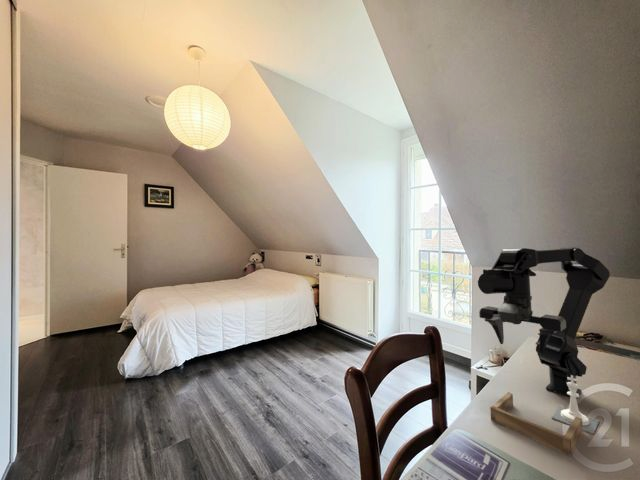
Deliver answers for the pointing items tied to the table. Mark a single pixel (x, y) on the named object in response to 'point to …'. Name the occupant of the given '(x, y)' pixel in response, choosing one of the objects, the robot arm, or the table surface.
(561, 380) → the robot arm
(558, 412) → the pad
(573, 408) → the chess piece
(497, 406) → the wooden frame
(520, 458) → the table surface
